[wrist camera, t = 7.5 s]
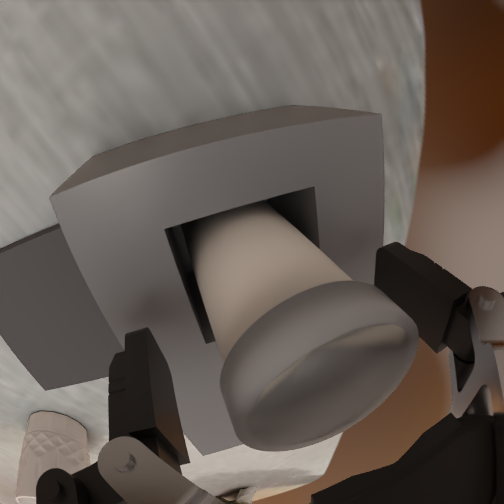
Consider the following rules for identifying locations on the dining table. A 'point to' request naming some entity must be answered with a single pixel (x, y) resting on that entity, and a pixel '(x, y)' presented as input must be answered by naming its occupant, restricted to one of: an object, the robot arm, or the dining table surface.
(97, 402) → the dining table surface
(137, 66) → the dining table surface
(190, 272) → the block
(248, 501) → the artificial flower
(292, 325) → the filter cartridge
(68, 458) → the white cup
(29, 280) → the mat
